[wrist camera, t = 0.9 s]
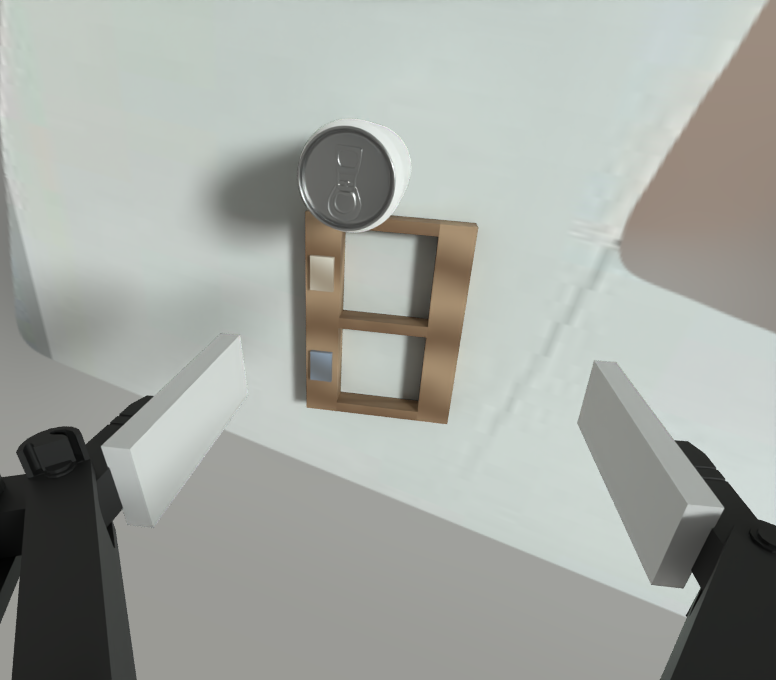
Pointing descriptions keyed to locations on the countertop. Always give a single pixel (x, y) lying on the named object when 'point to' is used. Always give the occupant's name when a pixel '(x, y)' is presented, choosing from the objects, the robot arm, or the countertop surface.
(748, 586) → the robot arm
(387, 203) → the can
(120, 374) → the countertop surface
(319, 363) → the socket board
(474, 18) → the countertop surface
